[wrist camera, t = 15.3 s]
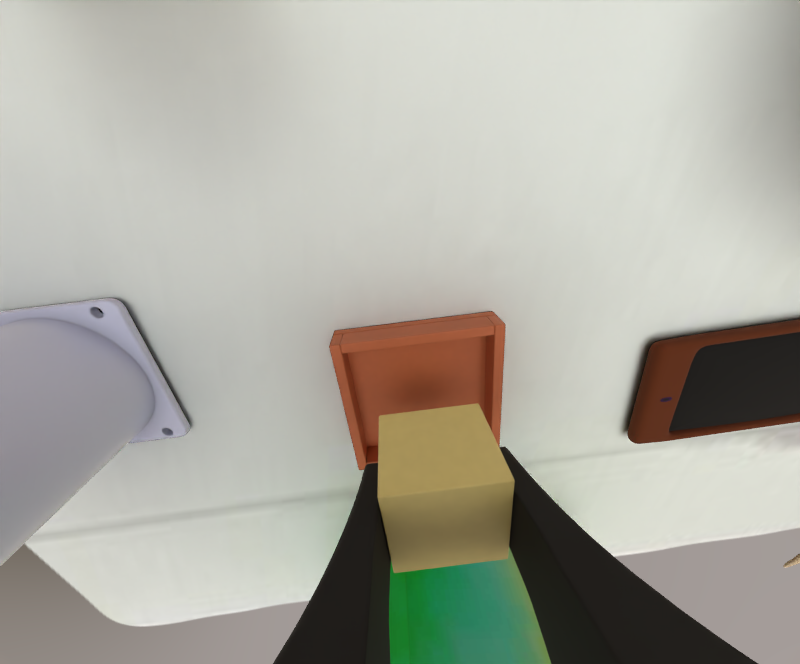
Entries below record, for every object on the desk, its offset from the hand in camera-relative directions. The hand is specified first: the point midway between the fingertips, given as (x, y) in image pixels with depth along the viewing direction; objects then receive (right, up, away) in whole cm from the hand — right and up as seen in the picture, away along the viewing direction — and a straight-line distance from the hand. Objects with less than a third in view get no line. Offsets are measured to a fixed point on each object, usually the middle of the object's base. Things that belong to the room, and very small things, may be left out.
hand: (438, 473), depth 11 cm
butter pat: (0, +1, +1) cm, 1 cm away
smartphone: (+20, +3, +6) cm, 21 cm away
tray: (0, +2, +5) cm, 6 cm away
